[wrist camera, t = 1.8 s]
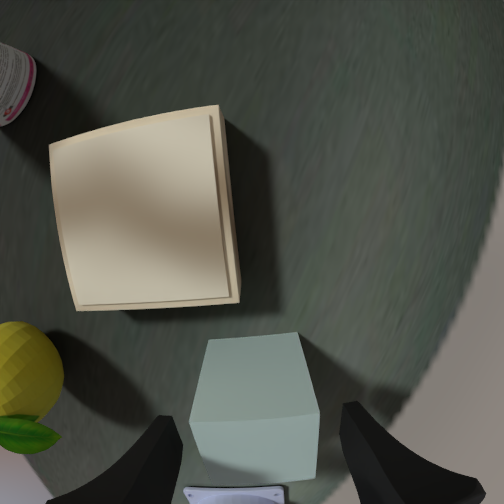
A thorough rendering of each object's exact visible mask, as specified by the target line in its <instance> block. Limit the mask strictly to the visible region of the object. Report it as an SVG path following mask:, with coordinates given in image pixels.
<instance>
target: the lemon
mask: <svg viewBox="0 0 504 504" xmlns="http://www.w3.org/2000/svg"><path fill="white" fill-rule="evenodd" d="M63 380H64V371H63V365H62V360H61V358H60V355H59V353H58V351H57V349H56V348H55V346H54V345H53V343H52V342H51V340H50V339H49V338H48V337H47V336H46V335H45V334H44V333H43V332H42V331H40V330H39V329H38V328H36V327H35V326H33V325H30V324H28V323H25V322H22V321H20V322H6V323H3V324H0V445H1V446H2V447H3V448H5V449H7V450H9V451H12V452H14V453H18V454H35V453H38V452H41V451H44V450H47V449H49V448H50V447H51V446H53V445H54V444H55V443H56V442H57V441H58V440H59V439H60V438H61V436H60V435H59V434H57V433H56V432H55V431H54V430H52V429H50V428H48V427H46V426H44V425H42V424H40V423H37V422H39V421H40V420H41V419H42V418H43V417H44V416H45V415H46V414H47V413H48V412H49V411H50V409H51V408H52V407H53V406H54V404H55V403H56V401H57V400H58V398H59V395H60V392H61V389H62V385H63Z"/></svg>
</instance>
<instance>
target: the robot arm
mask: <svg viewBox="0 0 504 504" xmlns="http://www.w3.org/2000/svg"><path fill="white" fill-rule="evenodd" d="M339 435H340V439H341V444H342V448H343V453H344V456H345V459H346V461H347V464H348V467H349V470H350V473H351V475H352V478H353V481H354V483H355V486H356V489H357V492H358V495H359V499H360V503H361V504H480V503H481V502H482V501H483V499H484V498H485V495H486V492H485V491H484V489H483V487H482V485H481V484H480V483H479V481H478V480H477V479H476V478H473V477H469V476H465V475H461V474H458V473H455V472H452V471H449V470H447V469H444V468H442V467H440V466H438V465H436V464H433V463H431V462H429V461H427V460H426V459H424V458H422V457H420V456H419V455H417V454H416V453H414V452H413V451H411V450H409V449H408V448H407V447H405V446H404V445H402V444H401V443H400V442H399V441H398V440H396V439H395V438H394V437H393V436H392V435H390V434H389V433H388V432H387V431H386V430H385V429H384V428H383V427H382V426H381V425H380V424H379V423H378V422H377V421H376V420H375V419H374V418H373V417H372V416H371V415H370V414H369V413H368V412H367V411H366V410H365V409H364V408H363V406H362V405H361V404H360V403H359V402H358V401H354V402H349V403H344V404H343V409H342V417H341V425H340V433H339ZM182 450H183V444H182V441H181V438H180V436H179V433H178V431H177V428H176V426H175V423H174V420H173V417H172V416H162V415H159V416H158V417H157V418H156V419H155V420H154V421H153V423H152V424H151V425H150V426H149V427H148V429H147V430H146V431H145V432H144V433H143V435H142V436H141V437H140V438H139V439H138V440H137V441H136V443H135V444H134V445H133V446H132V447H131V448H130V449H129V450H128V451H127V452H126V453H125V454H124V455H123V456H122V457H121V458H120V459H119V460H118V461H117V462H116V463H115V464H113V465H112V466H111V467H110V468H109V469H107V470H106V471H105V472H103V473H102V474H101V475H99V476H98V477H96V478H95V479H93V480H92V481H90V482H88V483H87V484H85V485H83V486H81V487H80V488H78V489H76V490H74V491H71V492H69V493H67V494H65V495H62V496H59V497H56V498H53V499H51V500H48V501H47V502H46V504H171V501H172V497H173V493H174V490H175V486H176V482H177V478H178V474H179V470H180V466H181V460H182ZM184 494H185V495H186V497H187V499H188V501H189V502H190V504H284V488H283V487H281V486H270V487H254V488H199V487H185V488H184Z"/></svg>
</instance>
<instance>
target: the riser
mask: <svg viewBox="0 0 504 504" xmlns="http://www.w3.org/2000/svg"><path fill="white" fill-rule="evenodd" d="M49 156H50V170H51V182H52V191H53V200H54V208H55V215H56V221H57V228H58V233H59V239H60V244H61V250H62V254H63V259H64V264H65V268H66V273H67V277H68V281H69V285H70V289H71V293H72V297H73V300H74V304H75V307H76V311H99V310H130V309H153V308H172V307H188V306H203V305H217V304H230V303H239V302H240V291H241V274H240V265H239V256H238V247H237V238H236V229H235V219H234V210H233V200H232V191H231V181H230V171H229V161H228V151H227V141H226V131H225V121H224V116H223V114H222V112H221V110H220V107H219V105H212V106H205V107H198V108H192V109H186V110H180V111H174V112H169V113H164V114H159V115H154V116H149V117H144V118H140V119H135V120H131V121H127V122H123V123H119V124H115V125H111V126H107V127H104V128H100V129H96V130H93V131H90V132H86V133H83V134H80V135H76V136H73V137H70V138H67V139H64V140H61V141H58V142H55V143H52V144H50V145H49Z"/></svg>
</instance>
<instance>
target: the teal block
mask: <svg viewBox="0 0 504 504" xmlns="http://www.w3.org/2000/svg"><path fill="white" fill-rule="evenodd" d="M319 421H320V411H319V408H318V404H317V400H316V397H315V393H314V389H313V386H312V382H311V378H310V375H309V371H308V368H307V364H306V360H305V357H304V353H303V350H302V346H301V343H300V339H299V336H298V332H295V333H285V334H276V335H265V336H254V337H242V338H228V339H212V340H209V341H208V345H207V349H206V353H205V357H204V361H203V365H202V369H201V373H200V377H199V382H198V386H197V390H196V394H195V398H194V402H193V406H192V411H191V415H190V419H189V423H190V426H191V429H192V432H193V435H194V438H195V441H196V444H197V447H198V449H199V452H200V455H201V458H202V460H203V463H204V465H205V468H206V471H207V473H208V476H209V478H210V481H211V483H212V485H252V484H269V483H281V482H290V481H299V480H306V479H313V478H315V475H316V463H317V451H318V437H319Z"/></svg>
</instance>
